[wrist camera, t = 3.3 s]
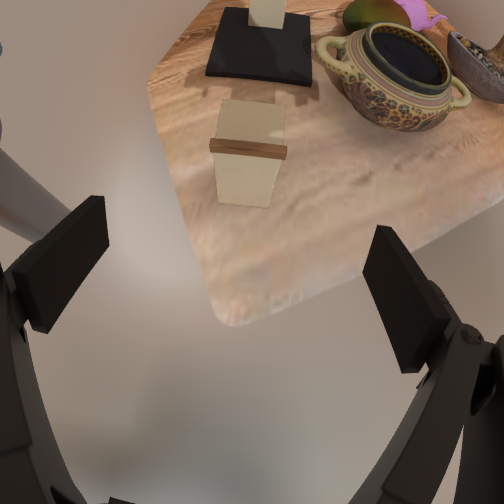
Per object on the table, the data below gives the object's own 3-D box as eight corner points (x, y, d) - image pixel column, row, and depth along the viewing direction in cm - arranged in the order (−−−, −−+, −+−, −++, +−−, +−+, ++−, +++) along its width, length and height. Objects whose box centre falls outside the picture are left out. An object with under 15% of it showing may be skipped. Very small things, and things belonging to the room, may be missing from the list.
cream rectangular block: (216, 205, 38) (209, 145, 25) (223, 159, 40) (220, 90, 27) (269, 210, 38) (287, 153, 25) (273, 165, 40) (289, 97, 27)
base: (205, 75, 43) (200, 2, 29) (225, 10, 48) (225, -49, 34) (310, 87, 44) (332, 16, 30) (308, 19, 48) (322, -38, 35)
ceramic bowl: (294, 126, 45) (313, 76, 30) (310, 38, 44) (328, -20, 29) (437, 169, 45) (494, 145, 30) (438, 82, 45) (481, 44, 30)
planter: (429, 55, 49) (469, -10, 30) (478, 67, 51) (518, 15, 31) (462, 110, 46) (519, 45, 26) (508, 118, 47) (560, 68, 28)
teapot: (369, -1, 53) (379, -28, 44) (420, 16, 54) (433, -8, 45) (378, 24, 50) (391, -6, 42) (433, 43, 51) (449, 17, 42)
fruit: (408, 52, 48) (427, 18, 39) (368, 63, 46) (387, 23, 37) (369, 18, 50) (383, -16, 41) (326, 26, 48) (338, -13, 39)
